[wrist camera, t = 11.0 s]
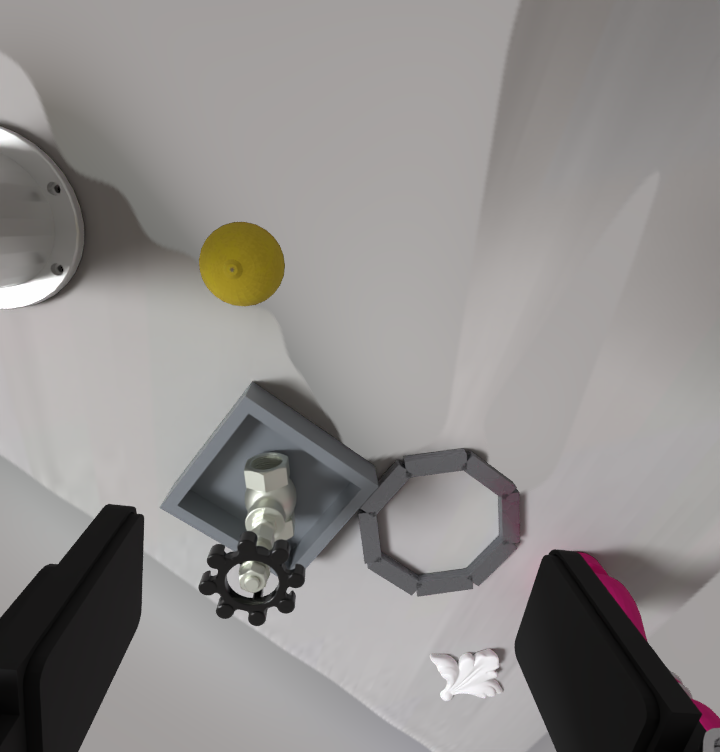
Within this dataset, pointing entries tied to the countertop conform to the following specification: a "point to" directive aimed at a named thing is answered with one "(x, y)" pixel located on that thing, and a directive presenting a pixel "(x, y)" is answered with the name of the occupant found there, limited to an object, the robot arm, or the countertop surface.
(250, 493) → the valve
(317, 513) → the bin
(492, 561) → the segmented octagonal ring
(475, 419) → the countertop surface
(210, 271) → the lemon
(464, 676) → the acanthus leaf ornament
